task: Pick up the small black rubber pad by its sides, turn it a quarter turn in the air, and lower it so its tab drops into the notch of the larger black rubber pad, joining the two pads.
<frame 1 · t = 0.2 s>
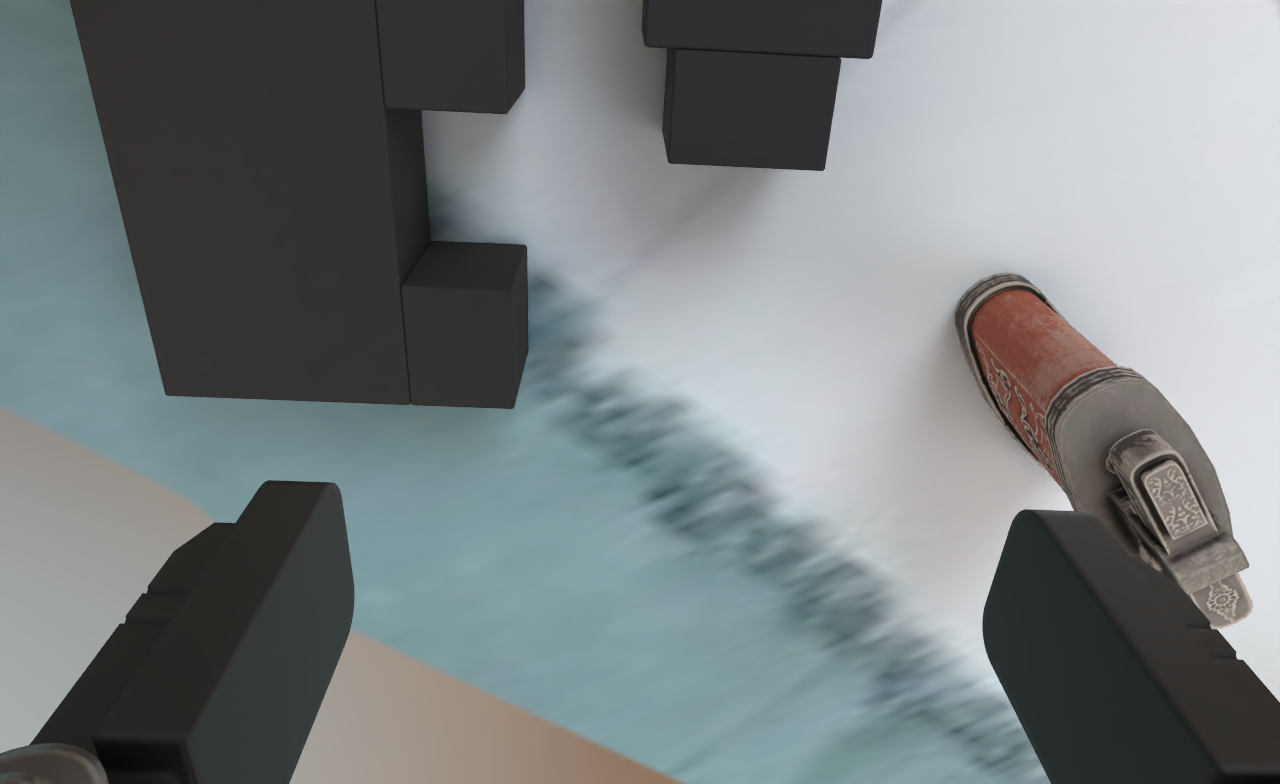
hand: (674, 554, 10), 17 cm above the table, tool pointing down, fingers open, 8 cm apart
lighter: (1027, 369, 29), on the table
notch pad: (357, 162, 25), on the table
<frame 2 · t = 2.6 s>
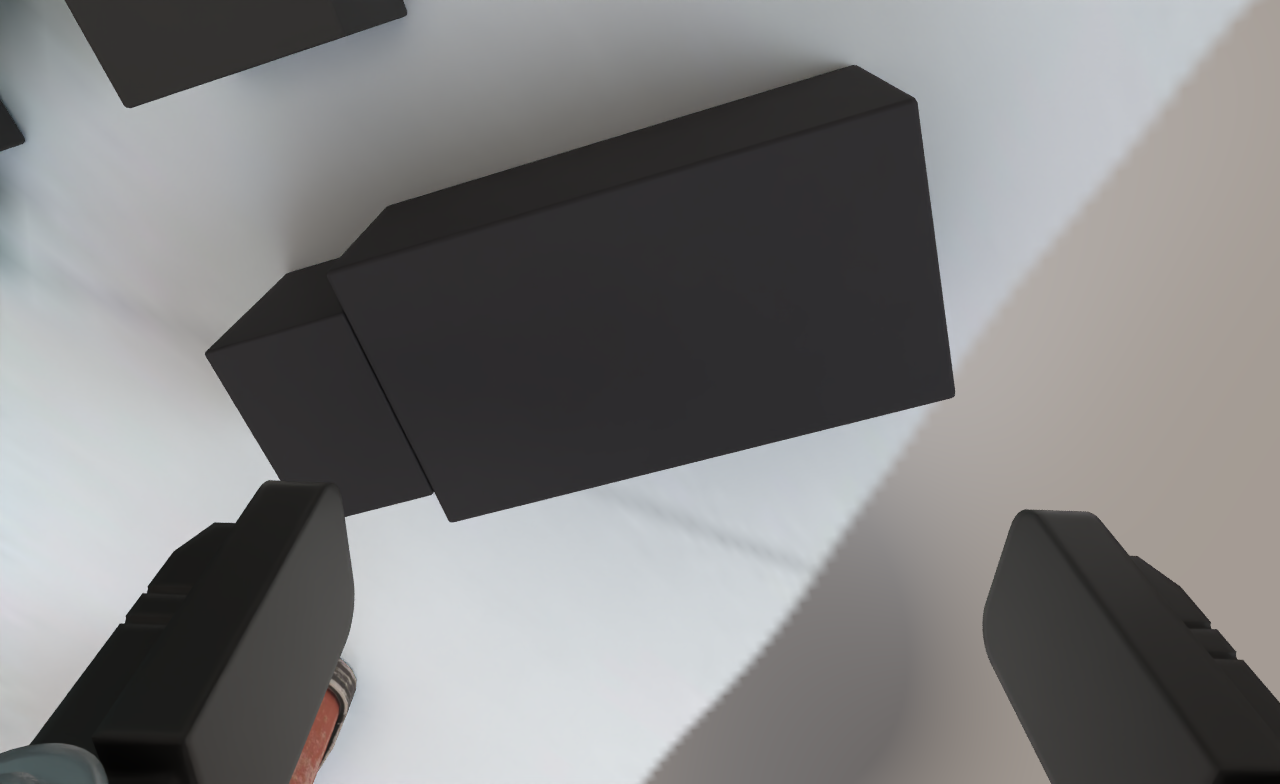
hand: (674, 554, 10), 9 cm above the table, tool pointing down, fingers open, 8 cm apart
lighter: (272, 727, 25), on the table
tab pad: (649, 261, 18), on the table
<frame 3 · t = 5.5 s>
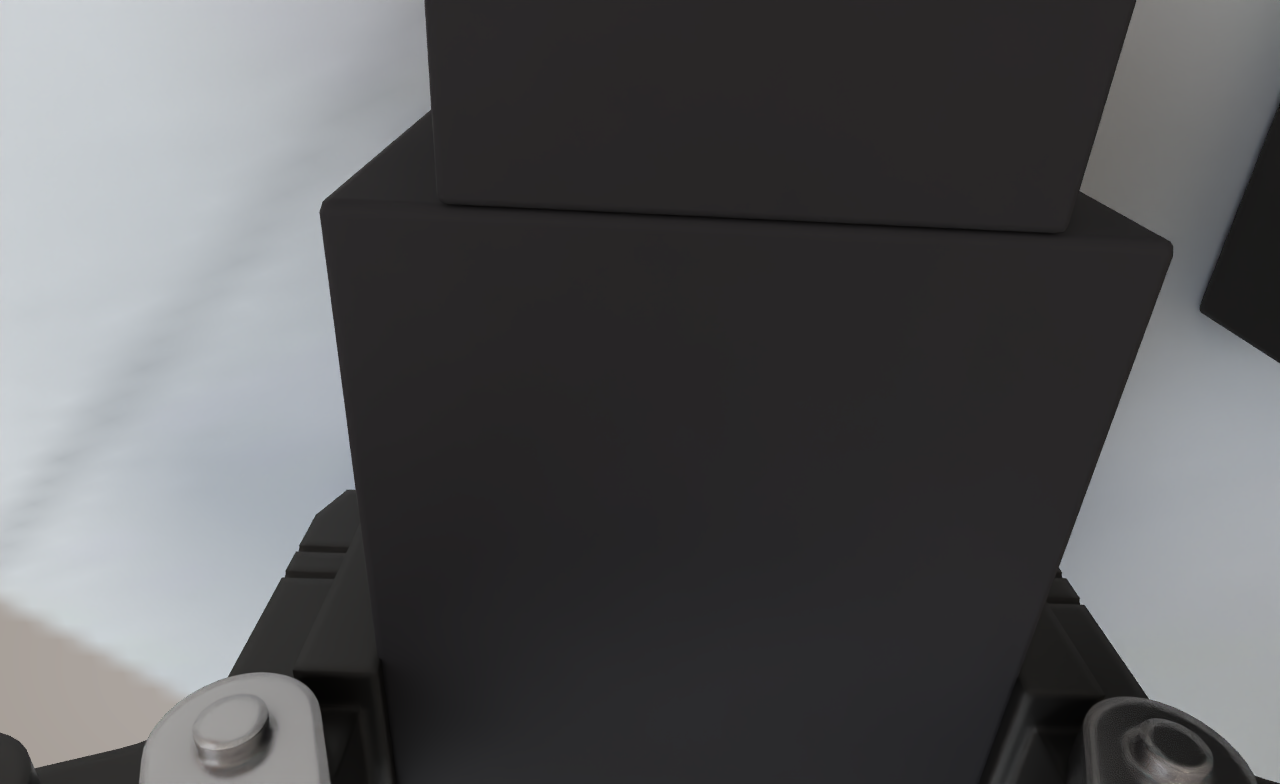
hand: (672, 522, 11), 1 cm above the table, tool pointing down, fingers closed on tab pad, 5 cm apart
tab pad: (672, 501, 11), on the table, touching gripper
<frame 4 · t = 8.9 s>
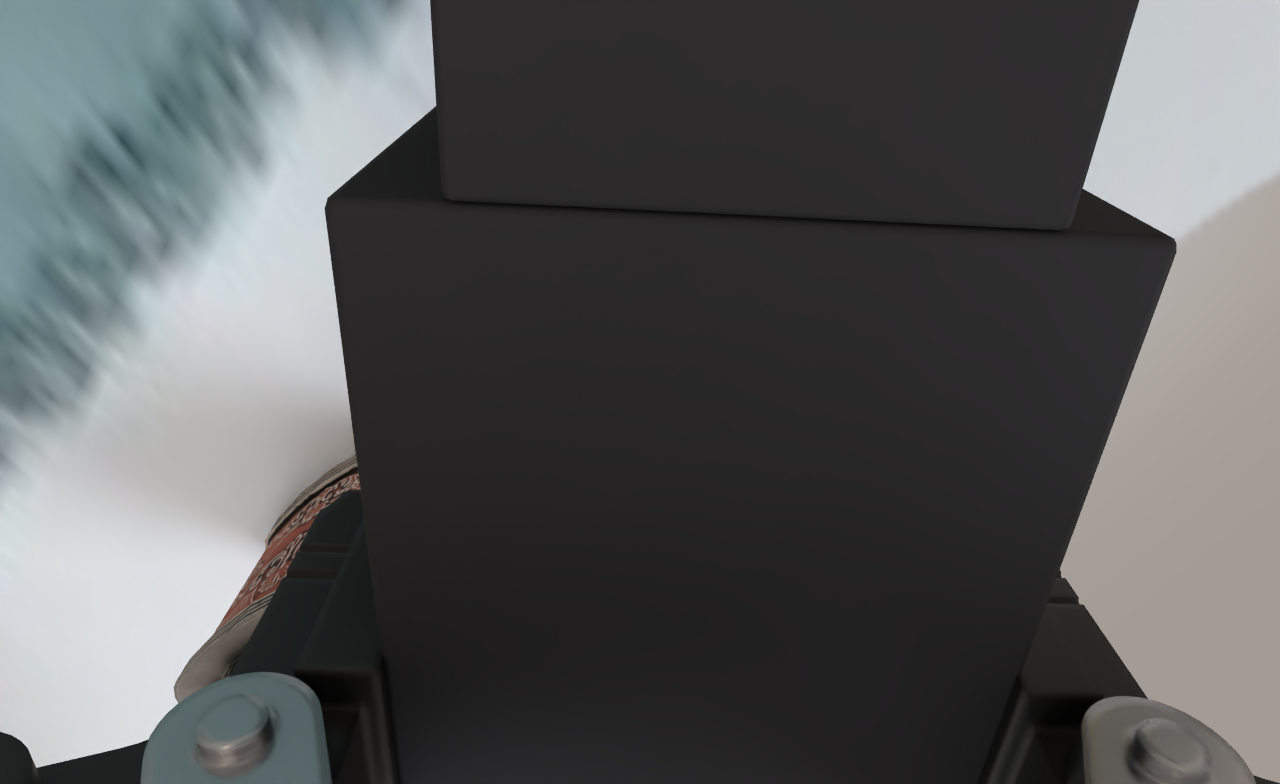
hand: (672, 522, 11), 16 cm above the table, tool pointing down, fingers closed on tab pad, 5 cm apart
lighter: (367, 497, 30), on the table
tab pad: (674, 499, 11), point 15 cm above the table, touching gripper
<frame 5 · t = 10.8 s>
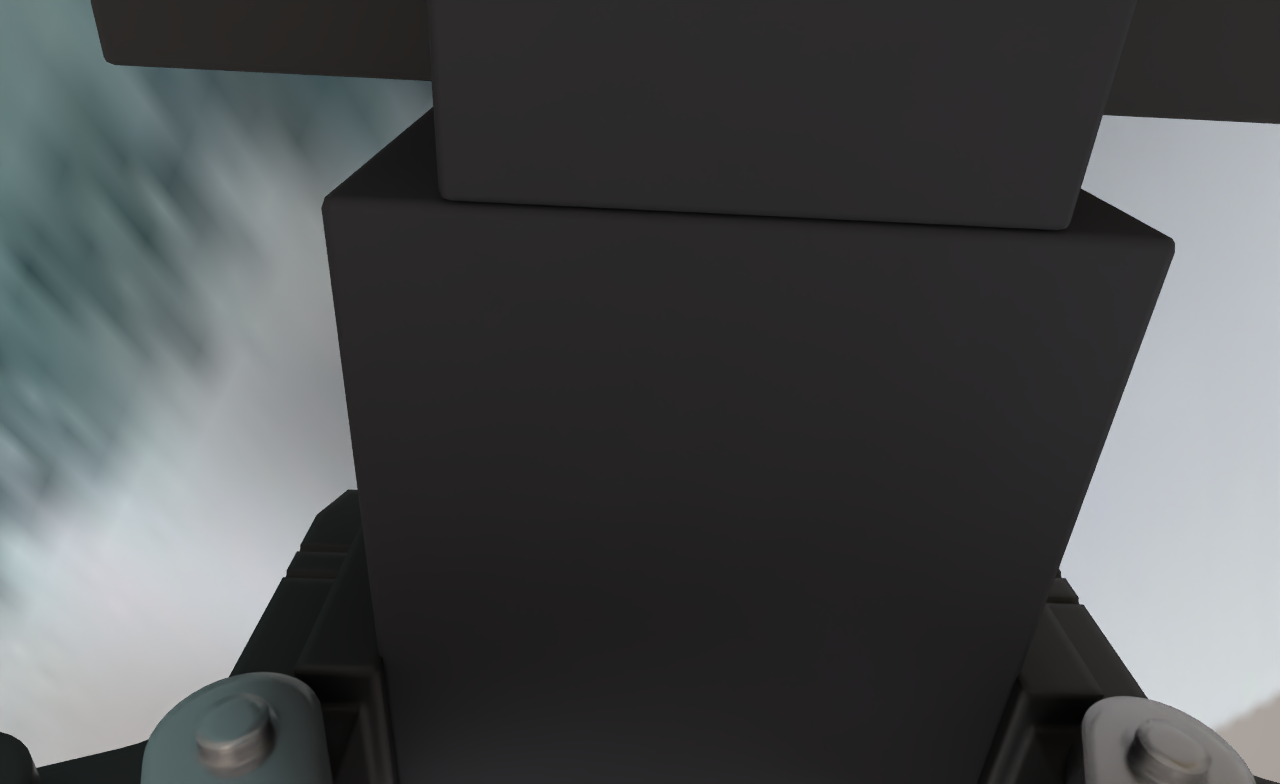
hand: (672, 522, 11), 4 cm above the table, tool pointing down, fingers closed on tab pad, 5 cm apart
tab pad: (673, 499, 11), point 4 cm above the table, touching gripper
when the fingers open (1 cm above the table, at t = 12.3 s): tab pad stays where it is, on the table.
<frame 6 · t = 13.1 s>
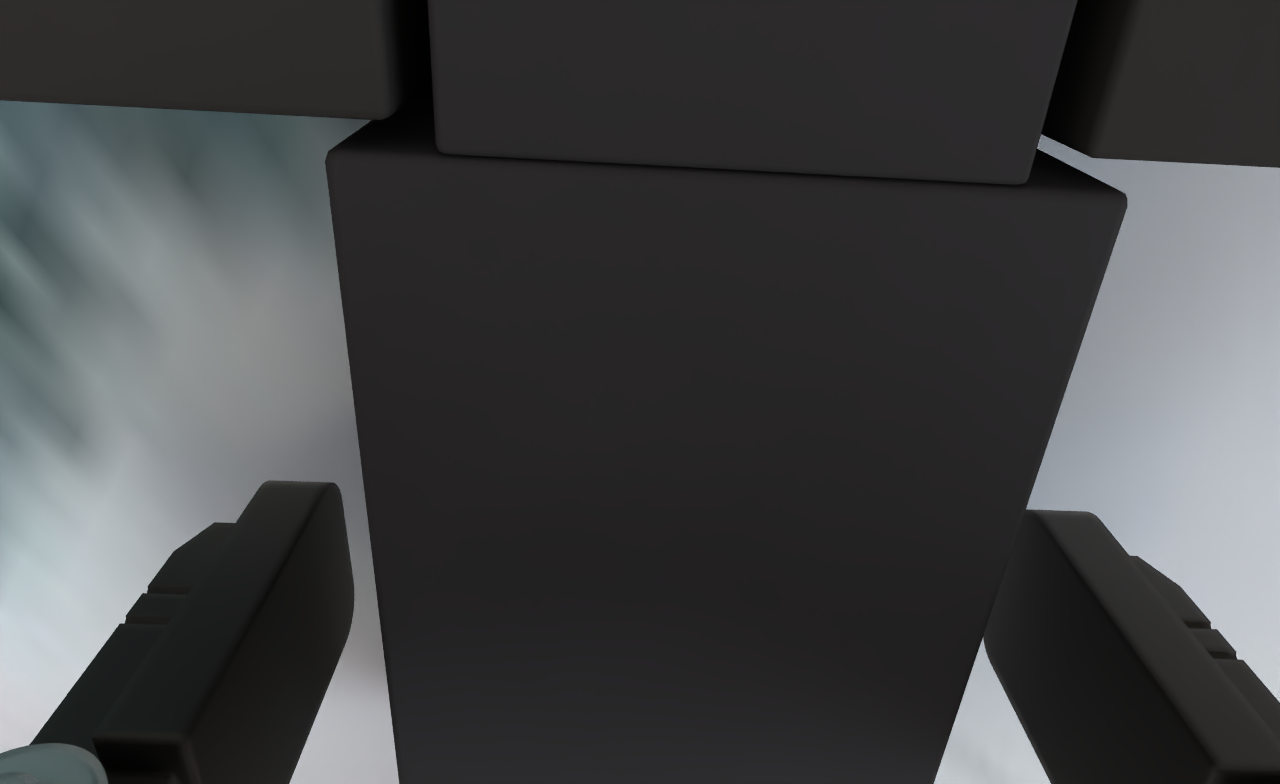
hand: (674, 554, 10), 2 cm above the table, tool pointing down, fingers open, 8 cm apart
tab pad: (662, 467, 11), on the table
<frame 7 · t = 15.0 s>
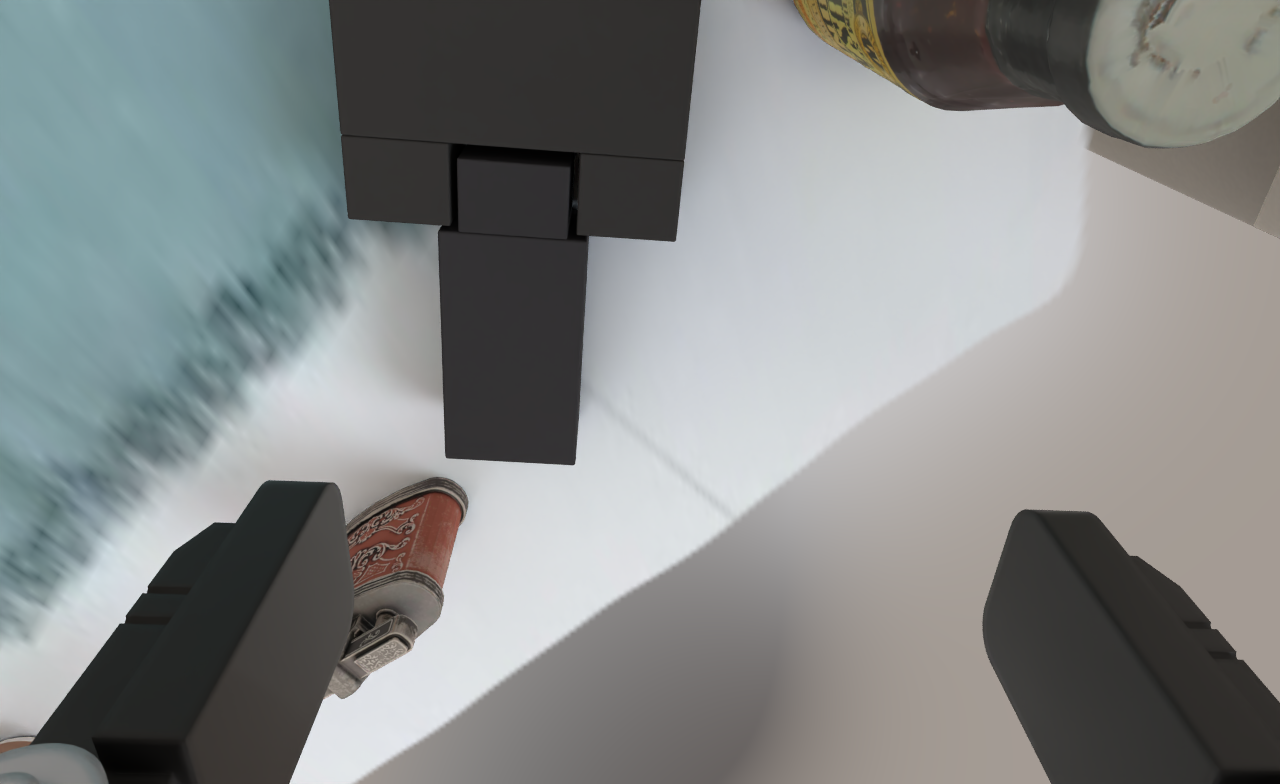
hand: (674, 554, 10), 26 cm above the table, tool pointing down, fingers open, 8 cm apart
lighter: (399, 522, 42), on the table
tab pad: (521, 317, 37), on the table
notch pad: (526, 71, 32), on the table
coffee cup: (47, 771, 51), on the table
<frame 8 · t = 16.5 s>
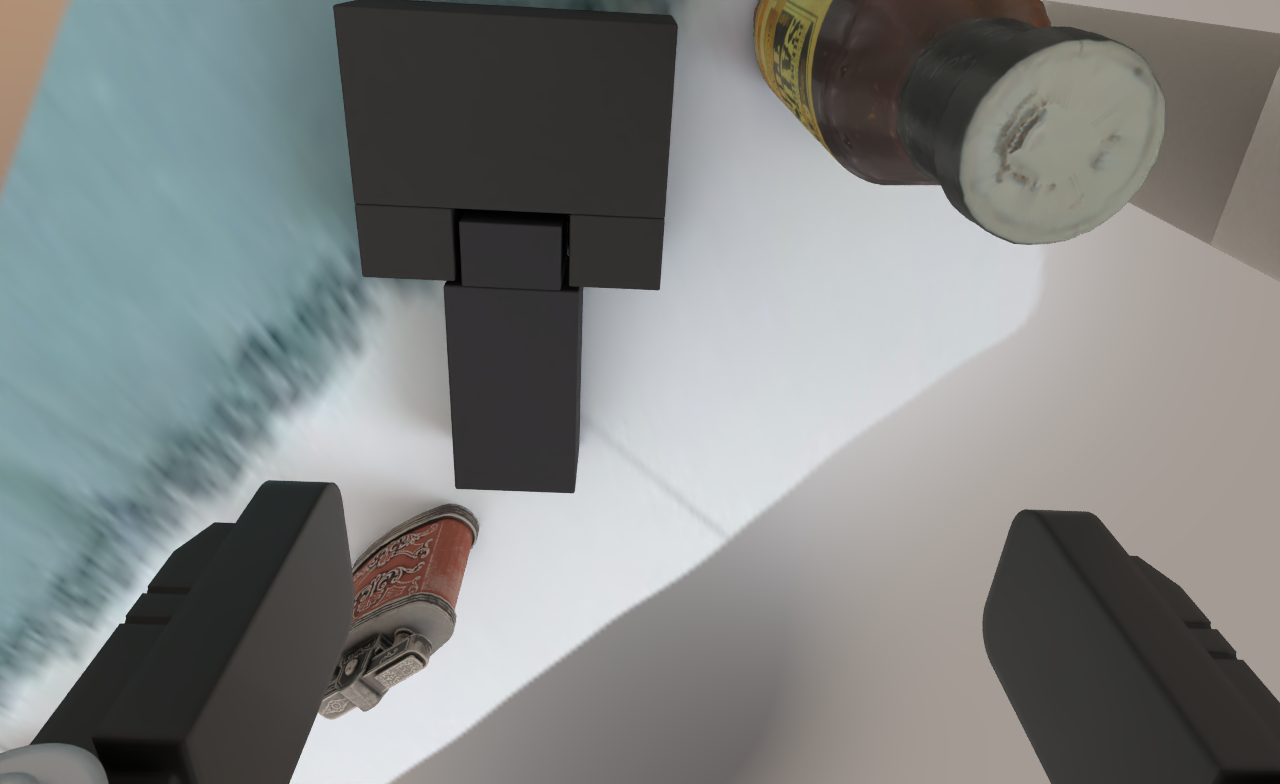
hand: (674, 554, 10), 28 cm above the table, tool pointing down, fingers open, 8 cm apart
sauce bottle: (827, 29, 34), on the table
lighter: (416, 546, 46), on the table
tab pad: (523, 356, 40), on the table
notch pad: (521, 137, 35), on the table
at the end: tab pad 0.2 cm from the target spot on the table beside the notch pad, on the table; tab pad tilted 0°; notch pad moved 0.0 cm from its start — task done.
